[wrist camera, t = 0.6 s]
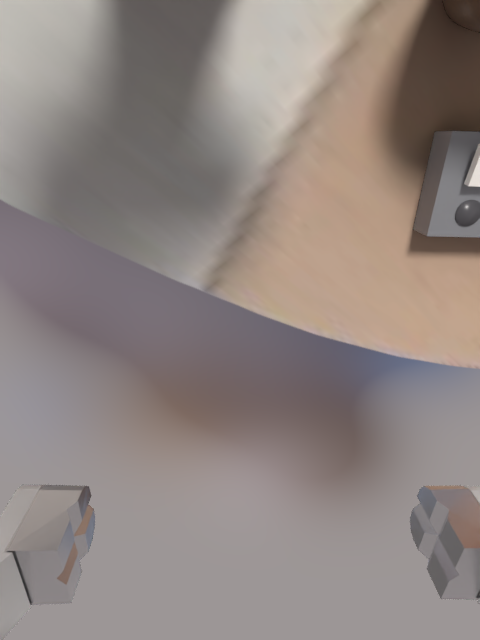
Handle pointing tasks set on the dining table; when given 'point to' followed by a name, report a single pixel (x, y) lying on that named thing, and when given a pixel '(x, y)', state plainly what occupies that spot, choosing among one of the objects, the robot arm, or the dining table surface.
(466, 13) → the plant pot
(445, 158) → the switch panel
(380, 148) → the dining table surface
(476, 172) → the rocker
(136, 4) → the dining table surface
